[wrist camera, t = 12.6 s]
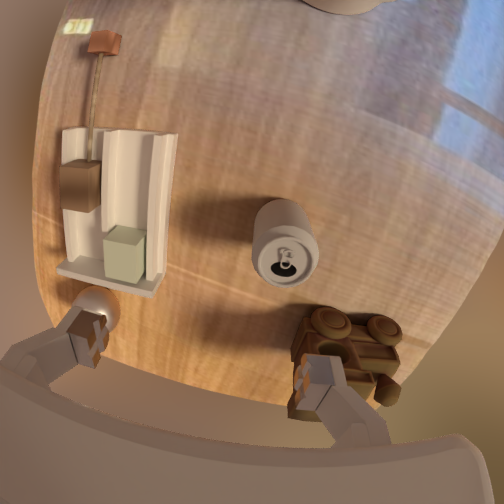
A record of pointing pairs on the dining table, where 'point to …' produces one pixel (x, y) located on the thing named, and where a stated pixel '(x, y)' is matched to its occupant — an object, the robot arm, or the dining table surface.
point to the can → (283, 244)
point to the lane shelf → (121, 202)
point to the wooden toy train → (350, 354)
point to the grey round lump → (100, 304)
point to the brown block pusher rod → (87, 170)
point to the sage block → (125, 253)
